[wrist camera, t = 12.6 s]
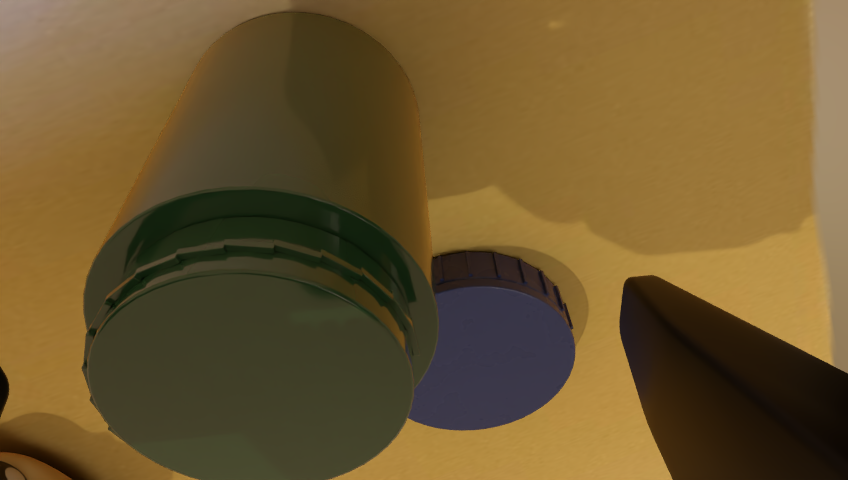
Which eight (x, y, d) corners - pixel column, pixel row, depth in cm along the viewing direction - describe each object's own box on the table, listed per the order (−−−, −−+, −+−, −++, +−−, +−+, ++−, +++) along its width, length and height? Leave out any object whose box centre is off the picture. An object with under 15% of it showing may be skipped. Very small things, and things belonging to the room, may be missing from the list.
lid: (365, 392, 25) (364, 430, 24) (373, 245, 21) (372, 281, 20) (545, 395, 26) (554, 433, 25) (585, 253, 22) (599, 288, 21)
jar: (350, -33, 17) (324, 174, 9) (455, 169, 20) (501, 443, 12) (135, 77, 18) (-43, 338, 10) (269, 249, 21) (208, 539, 14)
